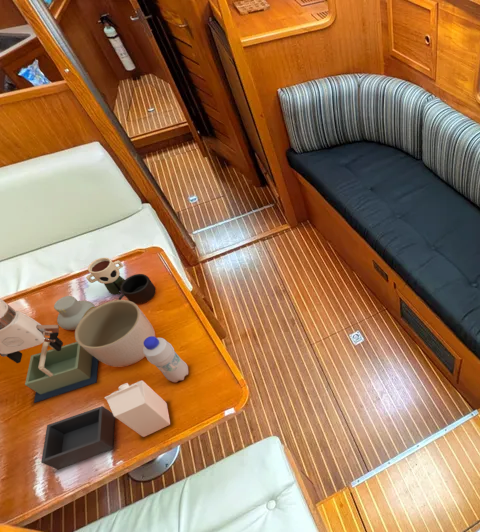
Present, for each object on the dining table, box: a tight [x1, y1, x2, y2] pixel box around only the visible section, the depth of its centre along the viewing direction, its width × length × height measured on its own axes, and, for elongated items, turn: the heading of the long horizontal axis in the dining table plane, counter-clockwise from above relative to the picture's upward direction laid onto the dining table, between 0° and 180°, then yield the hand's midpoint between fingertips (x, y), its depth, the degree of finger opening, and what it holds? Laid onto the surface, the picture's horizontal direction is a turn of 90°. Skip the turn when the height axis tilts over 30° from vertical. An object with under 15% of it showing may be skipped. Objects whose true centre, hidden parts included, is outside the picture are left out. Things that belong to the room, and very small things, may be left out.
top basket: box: [24, 341, 92, 395], centre depth 116 cm, size 13×10×12 cm
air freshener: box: [53, 295, 97, 331], centre depth 129 cm, size 11×8×10 cm
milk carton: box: [104, 379, 171, 438], centre depth 104 cm, size 7×7×19 cm
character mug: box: [85, 257, 125, 296], centre depth 137 cm, size 11×7×13 cm, turn 137°
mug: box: [118, 273, 157, 305], centre depth 136 cm, size 12×9×7 cm
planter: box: [74, 299, 156, 368], centre depth 120 cm, size 17×17×15 cm
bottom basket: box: [40, 405, 116, 470], centre depth 105 cm, size 13×10×6 cm
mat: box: [33, 356, 100, 404], centre depth 120 cm, size 16×14×1 cm
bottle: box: [143, 336, 189, 383], centre depth 113 cm, size 7×7×20 cm
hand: (40, 352), depth 111 cm, fingers open, 9 cm apart
